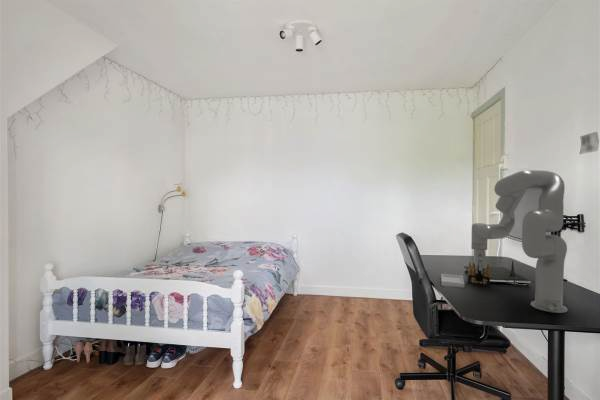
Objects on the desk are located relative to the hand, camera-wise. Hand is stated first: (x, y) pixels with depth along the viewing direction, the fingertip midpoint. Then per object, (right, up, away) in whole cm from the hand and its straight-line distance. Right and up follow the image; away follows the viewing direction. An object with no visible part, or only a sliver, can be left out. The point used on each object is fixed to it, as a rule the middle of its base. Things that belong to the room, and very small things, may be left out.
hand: (478, 280), depth 176 cm
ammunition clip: (0, -3, 0) cm, 3 cm away
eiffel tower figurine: (+22, -3, +7) cm, 24 cm away
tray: (-12, -2, +4) cm, 13 cm away
